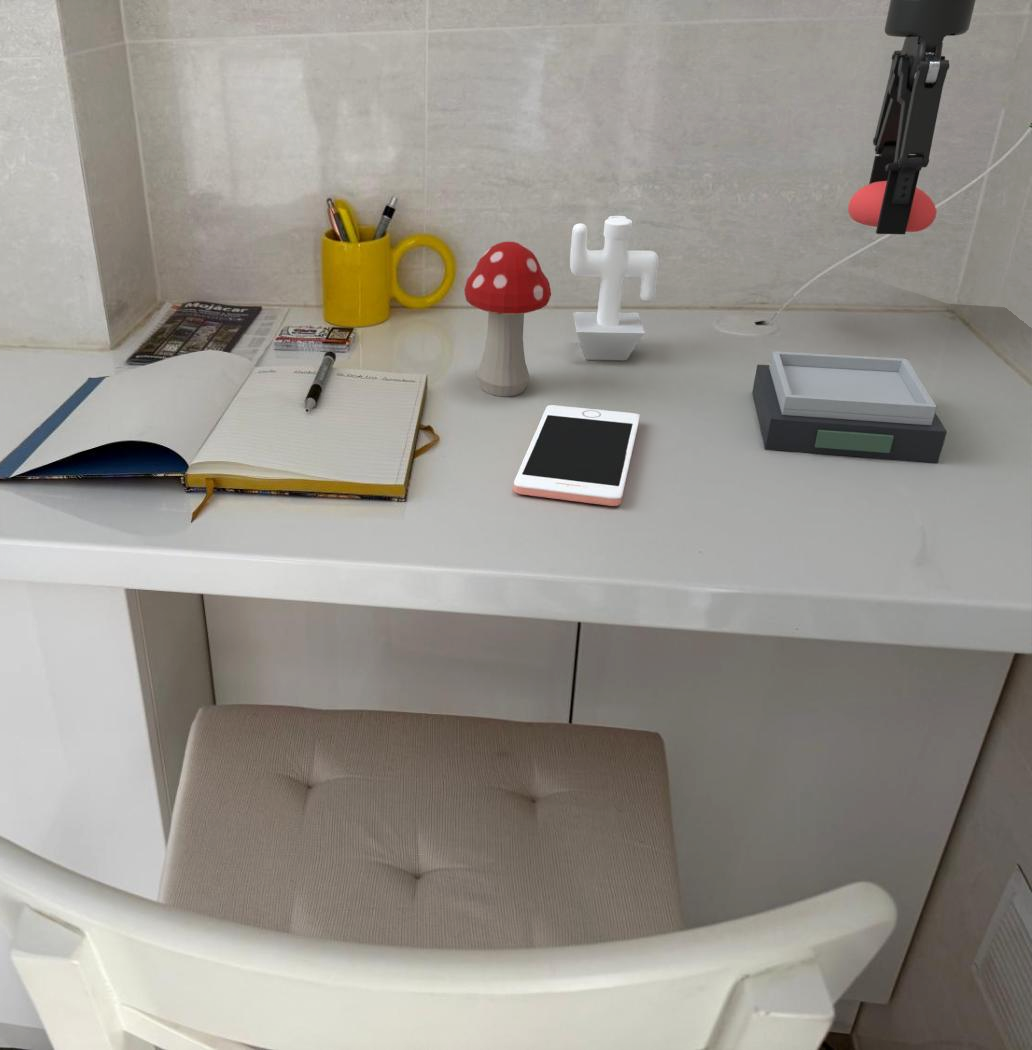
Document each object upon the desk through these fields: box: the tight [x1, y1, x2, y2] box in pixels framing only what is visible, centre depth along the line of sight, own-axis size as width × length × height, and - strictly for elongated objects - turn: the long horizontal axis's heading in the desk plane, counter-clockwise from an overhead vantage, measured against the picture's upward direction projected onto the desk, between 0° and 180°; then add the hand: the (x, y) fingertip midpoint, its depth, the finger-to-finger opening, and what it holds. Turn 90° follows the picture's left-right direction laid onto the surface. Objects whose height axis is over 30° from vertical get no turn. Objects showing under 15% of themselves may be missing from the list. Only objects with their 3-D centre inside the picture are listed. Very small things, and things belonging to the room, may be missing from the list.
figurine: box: [569, 215, 660, 361], centre depth 109 cm, size 7×9×15 cm
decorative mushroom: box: [464, 241, 552, 398], centre depth 101 cm, size 10×9×15 cm
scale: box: [751, 350, 948, 464], centre depth 92 cm, size 14×14×5 cm
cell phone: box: [512, 404, 641, 507], centre depth 89 cm, size 9×18×1 cm, turn 160°
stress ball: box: [847, 181, 937, 233], centre depth 108 cm, size 5×9×6 cm, turn 20°
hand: (883, 224), depth 110 cm, fingers closed on stress ball, 8 cm apart
